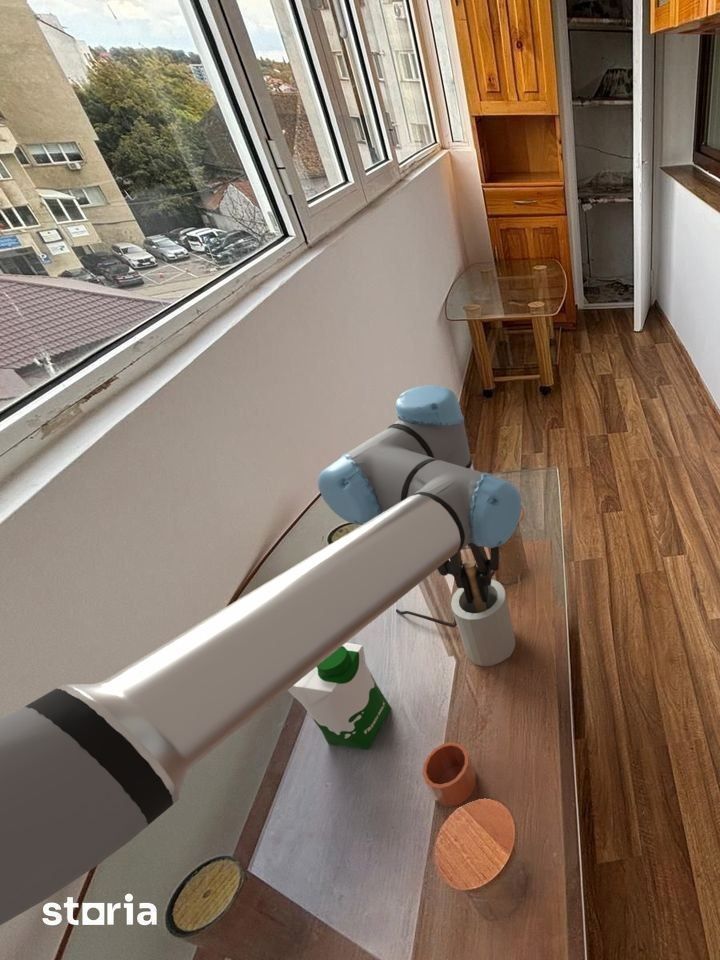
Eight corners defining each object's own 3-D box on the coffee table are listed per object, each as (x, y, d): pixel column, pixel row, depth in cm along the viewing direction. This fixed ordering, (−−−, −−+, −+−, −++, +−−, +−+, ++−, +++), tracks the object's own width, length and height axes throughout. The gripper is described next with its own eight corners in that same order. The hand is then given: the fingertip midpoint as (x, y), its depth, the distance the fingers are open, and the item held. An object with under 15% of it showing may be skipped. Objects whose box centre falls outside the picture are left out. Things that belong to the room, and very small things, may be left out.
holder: (453, 817, 74) (443, 797, 69) (424, 792, 76) (413, 771, 72) (485, 778, 78) (477, 757, 73) (456, 755, 80) (447, 734, 76)
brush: (489, 647, 93) (469, 573, 81) (477, 640, 94) (456, 566, 82) (500, 636, 95) (483, 562, 83) (489, 628, 96) (470, 554, 84)
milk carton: (371, 757, 80) (327, 688, 68) (318, 748, 81) (264, 678, 68) (400, 704, 87) (364, 633, 74) (350, 697, 88) (307, 625, 75)
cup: (491, 676, 91) (477, 628, 83) (455, 652, 95) (439, 604, 86) (525, 640, 97) (516, 591, 89) (490, 619, 101) (479, 570, 93)
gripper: (504, 471, 77) (523, 576, 91) (402, 477, 75) (437, 584, 89) (501, 502, 71) (521, 609, 86) (390, 510, 69) (429, 619, 84)
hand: (478, 596), depth 87 cm, fingers closed on brush, 2 cm apart
